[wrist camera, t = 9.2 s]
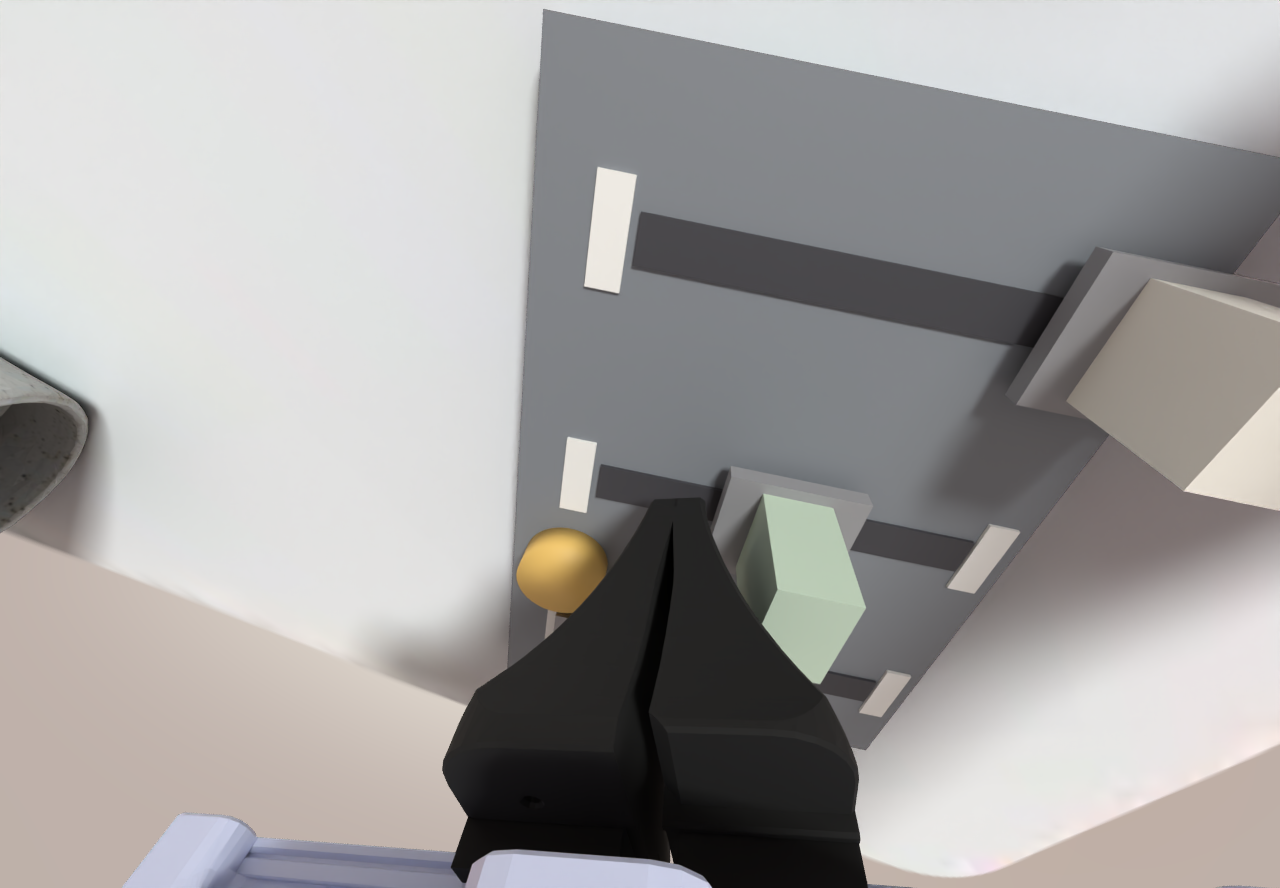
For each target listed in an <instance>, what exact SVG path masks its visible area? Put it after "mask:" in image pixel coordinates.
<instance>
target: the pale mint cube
mask: <svg viewBox="0 0 1280 888" xmlns="http://www.w3.org/2000/svg"><path fill="white" fill-rule="evenodd" d="M872 508H873V504H872V502H871V500H870V498H869V495H868V494H865V493H860V492H855V491H850V490H846V489H841V488H836V487H831V486H826V485H821V484H817V483H812V482H807V481H802V480H797V479H792V478H788V477H783V476H778V475H773V474H768V473H763V472H758V471H754V470H749V469H744V468H739V467H734V466H730V469H729V472H728V476H727V479H726V482H725V485H724V488H723V491H722V494H721V497H720V500H719V503H718V507H717V510H716V513H715V516H714V519H713V522H712V525H711V528H710V529H711V532H712V535H713V538H714V540H715V543H716V545H717V547H718V550H719V552H720V554H721V557H722V559H723V561H724V563H725V565H726V567H727V569H728V571H729V573H731V574H736V578H737V587H738V589H739V590H740V592H741V594H742V595H743V597H744V599H745V600H746V602H747V603H748V605H749V606H750V608H751V609H752V611H753V612H754V614H755V615H756V617H757V618H758V619H759V621H760V622H761V624H762V625H763V626H764V627H765V629H766V630H767V631H768V632H769V634H770V635H771V636H772V638H773V639H774V640H775V641H776V643H777V644H778V645H779V646H780V648H781V649H782V650H783V651H784V652H785V654H786V655H787V656H788V657H789V658H790V659H791V660H792V662H793V663H794V664H795V665H796V666H797V667H798V668H799V669H800V670H801V671H802V672H803V674H804V675H805V676H806V677H807V678H808V679H809V680H810V681H811V682H812V683H817V684H821V682H822V680H823V679H824V677H825V675H826V674H827V672H828V670H829V669H830V667H831V665H832V664H833V662H834V660H835V659H836V657H837V655H838V654H839V652H840V650H841V649H842V647H843V646H844V644H845V642H846V641H847V639H848V637H849V636H850V634H851V632H852V631H853V629H854V627H855V626H856V624H857V622H858V621H859V619H860V617H861V616H862V614H863V612H864V611H865V609H866V606H865V603H864V600H863V597H862V594H861V591H860V588H859V585H858V582H857V579H856V576H855V573H854V570H853V566H852V563H851V560H850V557H849V554H848V553H849V551H850V549H851V547H852V545H853V543H854V542H855V540H856V538H857V536H858V534H859V532H860V530H861V528H862V527H863V525H864V523H865V521H866V519H867V517H868V515H869V513H870V511H871V510H872Z"/></svg>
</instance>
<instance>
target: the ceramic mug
mask: <svg viewBox="0 0 1280 888" xmlns="http://www.w3.org/2000/svg"><path fill="white" fill-rule="evenodd" d="M87 435H88V418H87V416H86V414H85V412H84V410H83V409H82V408H81V407H80V405H79V404H78V403H77V402H76V401H75V400H73V399H71V398H70V397H68V396H67V395H65V394H63V393H62V392H60V391H58V390H56V389H55V388H53V387H51V386H49V385H47V384H46V383H44V382H42V381H40V380H39V379H37V378H35V377H33V376H31V375H30V374H28V373H26V372H24V371H23V370H21V369H19V368H18V367H16V366H14V365H13V364H11V363H9V362H8V361H6V360H4V359H3V358H1V357H0V533H1V532H3V531H4V530H6V529H7V528H9V527H10V526H12V525H13V524H15V523H16V522H17V521H18V520H20V519H21V518H22V517H23V516H25V515H26V514H27V513H28V512H29V511H31V510H32V509H33V508H34V507H35V506H36V505H37V504H38V503H39V502H41V501H42V500H43V499H44V498H45V497H46V496H48V495H49V494H50V492H51V491H52V490H53V489H54V488H55V487H56V486H57V485H58V484H59V483H60V482H61V481H62V480H63V479H64V478H65V477H66V475H67V474H68V473H69V471H70V470H71V469H72V467H73V465H74V464H75V462H76V461H77V459H78V457H79V456H80V454H81V452H82V449H83V447H84V444H85V442H86V439H87Z"/></svg>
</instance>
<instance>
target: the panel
mask: <svg viewBox="0 0 1280 888" xmlns="http://www.w3.org/2000/svg"><path fill="white" fill-rule="evenodd" d="M1279 214H1280V157H1275V156H1270V155H1265V154H1260V153H1255V152H1250V151H1245V150H1240V149H1235V148H1231V147H1226V146H1221V145H1216V144H1211V143H1206V142H1201V141H1196V140H1191V139H1186V138H1181V137H1176V136H1171V135H1166V134H1161V133H1156V132H1151V131H1146V130H1141V129H1136V128H1131V127H1126V126H1121V125H1116V124H1111V123H1107V122H1102V121H1097V120H1092V119H1087V118H1082V117H1077V116H1072V115H1067V114H1062V113H1057V112H1052V111H1047V110H1042V109H1037V108H1032V107H1027V106H1022V105H1017V104H1012V103H1007V102H1002V101H997V100H992V99H987V98H982V97H978V96H973V95H968V94H963V93H958V92H953V91H948V90H943V89H938V88H933V87H928V86H923V85H918V84H913V83H908V82H903V81H898V80H893V79H888V78H883V77H878V76H873V75H868V74H863V73H858V72H854V71H849V70H844V69H839V68H834V67H829V66H824V65H819V64H814V63H809V62H804V61H799V60H794V59H789V58H784V57H779V56H774V55H769V54H764V53H759V52H754V51H749V50H744V49H739V48H734V47H730V46H725V45H720V44H715V43H710V42H705V41H700V40H695V39H690V38H685V37H680V36H675V35H670V34H665V33H660V32H655V31H650V30H645V29H640V28H635V27H630V26H625V25H620V24H615V23H610V22H606V21H601V20H596V19H591V18H586V17H581V16H576V15H571V14H566V13H561V12H556V11H551V10H546V9H543V24H542V43H541V61H540V80H539V98H538V116H537V135H536V153H535V172H534V190H533V208H532V227H531V245H530V263H529V282H528V300H527V319H526V337H525V355H524V374H523V392H522V411H521V429H520V447H519V466H518V484H517V502H516V521H515V539H514V558H513V576H512V594H511V613H510V631H509V649H508V668H509V667H511V666H512V665H513V664H515V663H516V662H517V661H519V660H520V659H521V658H523V657H524V656H525V655H527V654H528V653H529V652H530V651H531V650H533V649H534V648H535V647H536V646H537V645H539V644H540V643H541V642H542V641H543V640H545V639H546V638H547V637H548V636H549V635H550V634H552V633H553V632H554V624H555V616H556V612H560V613H573V612H574V611H575V610H576V609H577V608H578V607H579V606H580V605H581V604H582V603H583V602H584V601H585V599H586V598H587V597H588V596H589V595H590V594H591V593H592V591H593V590H594V589H595V588H596V587H597V585H598V584H599V583H600V582H601V581H602V579H603V578H604V577H605V575H606V574H607V573H608V571H609V570H610V569H611V567H612V566H613V565H614V563H615V562H616V560H617V559H618V558H619V556H620V555H621V553H622V552H623V550H624V549H625V547H626V546H627V544H628V543H629V541H630V539H631V538H632V536H633V535H634V533H635V531H636V530H637V528H638V526H639V525H640V523H641V521H642V519H643V517H644V516H645V514H646V512H647V510H648V508H649V506H650V504H651V502H652V501H653V500H654V499H673V498H695V497H701V498H702V499H703V500H705V505H706V515H707V519H708V523H709V526H710V528H711V525H712V522H713V519H714V516H715V513H716V510H717V507H718V503H719V500H720V497H721V494H722V491H723V488H724V485H725V482H726V479H727V476H728V472H729V469H730V466H734V467H739V468H744V469H749V470H754V471H758V472H763V473H768V474H773V475H778V476H783V477H788V478H792V479H797V480H802V481H807V482H812V483H817V484H821V485H826V486H831V487H836V488H841V489H846V490H850V491H855V492H860V493H865V494H868V495H869V498H870V500H871V502H872V504H873V508H872V510H871V511H870V513H869V515H868V517H867V519H866V521H865V523H864V525H863V527H862V528H861V530H860V532H859V534H858V536H857V538H856V540H855V542H854V543H853V545H852V547H851V549H850V551H849V553H848V554H849V557H850V560H851V563H852V566H853V570H854V573H855V576H856V579H857V582H858V585H859V588H860V591H861V594H862V597H863V600H864V603H865V606H866V609H865V611H864V612H863V614H862V616H861V617H860V619H859V621H858V622H857V624H856V626H855V627H854V629H853V631H852V632H851V634H850V636H849V637H848V639H847V641H846V642H845V644H844V646H843V647H842V649H841V650H840V652H839V654H838V655H837V657H836V659H835V660H834V662H833V664H832V665H831V667H830V669H829V670H828V672H827V674H826V675H825V677H824V679H823V680H822V682H821V684H817V683H813V684H814V685H815V686H816V687H817V688H818V689H819V690H820V691H821V692H822V693H823V694H824V695H825V696H826V697H827V699H828V701H829V702H830V704H831V706H832V708H833V710H834V712H835V714H836V716H837V718H838V720H839V722H840V724H841V726H842V728H843V730H844V732H845V734H846V736H847V739H848V741H849V743H850V746H851V747H853V748H858V749H863V750H866V749H867V748H868V747H869V745H870V744H871V743H872V741H873V740H874V739H875V737H876V736H877V735H878V734H879V732H880V731H881V730H882V728H883V727H884V726H885V725H886V723H887V722H888V721H889V719H890V718H891V717H892V715H893V714H894V713H895V712H896V710H897V709H898V708H899V706H900V705H901V704H902V703H903V701H904V700H905V699H906V697H907V696H908V695H909V693H910V692H911V691H912V690H913V688H914V687H915V686H916V684H917V683H918V682H919V680H920V679H921V678H922V677H923V675H924V674H925V673H926V671H927V670H928V669H929V668H930V666H931V665H932V664H933V662H934V661H935V660H936V658H937V657H938V656H939V655H940V653H941V652H942V651H943V649H944V648H945V647H946V646H947V644H948V643H949V642H950V640H951V639H952V638H953V636H954V635H955V634H956V633H957V631H958V630H959V629H960V627H961V626H962V625H963V623H964V622H965V621H966V620H967V618H968V617H969V616H970V614H971V613H972V612H973V611H974V609H975V608H976V607H977V605H978V604H979V603H980V601H981V600H982V599H983V598H984V596H985V595H986V594H987V592H988V591H989V590H990V588H991V587H992V586H993V585H994V583H995V582H996V581H997V579H998V578H999V577H1000V576H1001V574H1002V573H1003V572H1004V570H1005V569H1006V568H1007V566H1008V565H1009V564H1010V563H1011V561H1012V560H1013V559H1014V557H1015V556H1016V555H1017V554H1018V552H1019V551H1020V550H1021V548H1022V547H1023V546H1024V544H1025V543H1026V542H1027V541H1028V539H1029V538H1030V537H1031V535H1032V534H1033V533H1034V531H1035V530H1036V529H1037V528H1038V526H1039V525H1040V524H1041V522H1042V521H1043V520H1044V519H1045V517H1046V516H1047V515H1048V513H1049V512H1050V511H1051V509H1052V508H1053V507H1054V506H1055V504H1056V503H1057V502H1058V500H1059V499H1060V498H1061V497H1062V495H1063V494H1064V493H1065V491H1066V490H1067V489H1068V487H1069V486H1070V485H1071V484H1072V482H1073V481H1074V480H1075V478H1076V477H1077V476H1078V474H1079V473H1080V472H1081V471H1082V469H1083V468H1084V467H1085V465H1086V464H1087V463H1088V462H1089V460H1090V459H1091V458H1092V456H1093V455H1094V454H1095V452H1096V451H1097V450H1098V449H1099V447H1100V446H1101V445H1102V443H1103V442H1104V441H1105V440H1106V438H1107V437H1108V436H1109V434H1108V433H1107V432H1105V431H1104V430H1103V429H1102V428H1100V427H1099V426H1098V425H1096V424H1095V423H1094V422H1092V421H1091V420H1087V419H1082V418H1078V417H1073V416H1068V415H1063V414H1058V413H1053V412H1048V411H1043V410H1039V409H1034V408H1029V407H1024V406H1019V405H1016V404H1015V403H1013V402H1012V401H1011V400H1010V399H1009V398H1008V397H1007V396H1006V395H1005V394H1006V392H1007V390H1008V389H1009V387H1010V385H1011V384H1012V382H1013V381H1014V379H1015V377H1016V376H1017V374H1018V372H1019V371H1020V369H1021V367H1022V366H1023V364H1024V363H1025V361H1026V359H1027V358H1028V356H1029V354H1030V353H1031V351H1032V350H1033V348H1034V346H1035V345H1036V343H1037V341H1038V340H1039V338H1040V337H1041V335H1042V333H1043V332H1044V330H1045V328H1046V327H1047V325H1048V324H1049V322H1050V320H1051V319H1052V317H1053V315H1054V314H1055V312H1056V311H1057V309H1058V307H1059V306H1060V304H1061V302H1062V301H1063V299H1064V298H1065V296H1066V294H1067V293H1068V291H1069V289H1070V288H1071V286H1072V285H1073V283H1074V281H1075V280H1076V278H1077V276H1078V275H1079V273H1080V272H1081V270H1082V268H1083V267H1084V265H1085V263H1086V262H1087V260H1088V258H1089V257H1090V255H1091V254H1092V252H1093V250H1094V249H1095V247H1096V246H1097V247H1102V248H1106V249H1111V250H1116V251H1121V252H1126V253H1131V254H1136V255H1141V256H1146V257H1151V258H1156V259H1161V260H1166V261H1170V262H1175V263H1180V264H1185V265H1190V266H1195V267H1200V268H1205V269H1210V270H1215V271H1220V272H1225V273H1230V274H1234V272H1235V271H1236V270H1237V268H1238V267H1239V266H1240V265H1241V263H1242V262H1243V261H1244V259H1245V258H1246V257H1247V256H1248V254H1249V253H1250V252H1251V250H1252V249H1253V248H1254V246H1255V245H1256V244H1257V243H1258V241H1259V240H1260V239H1261V237H1262V236H1263V235H1264V234H1265V232H1266V231H1267V230H1268V228H1269V227H1270V226H1271V224H1272V223H1273V222H1274V221H1275V219H1276V218H1277V217H1278V215H1279ZM730 574H731V573H730ZM731 576H732V578H733V580H734V582H735V584H736V585H737V578H736V574H731ZM508 668H507V669H508Z"/></svg>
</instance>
